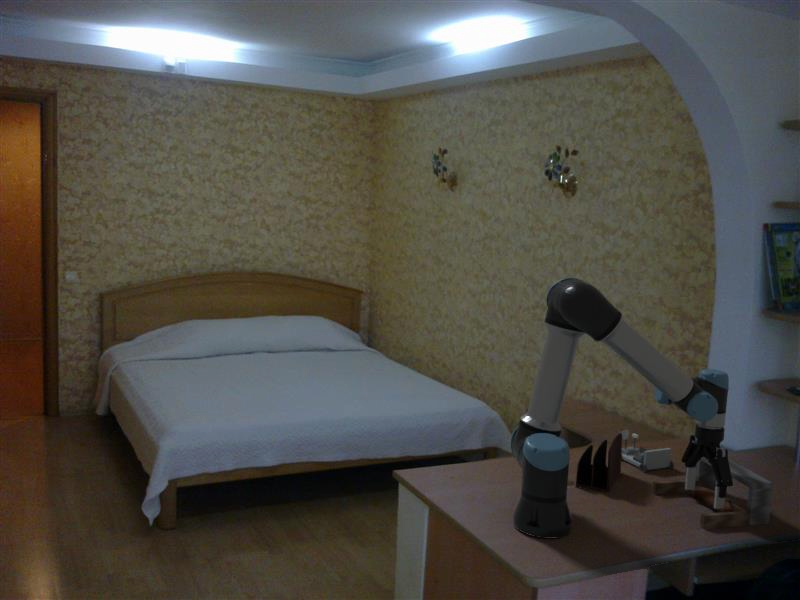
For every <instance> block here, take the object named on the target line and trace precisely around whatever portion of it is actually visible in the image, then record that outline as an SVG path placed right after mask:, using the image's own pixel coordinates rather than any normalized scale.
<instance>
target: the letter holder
mask: <svg viewBox="0 0 800 600" xmlns="http://www.w3.org/2000/svg"><path fill="white" fill-rule="evenodd" d="M618 433H619V432H618ZM618 433H617V434H618ZM617 434H616V435H615V437H614V438H613V440H612V442H611V443H610V446H609V447H608V440H607V439H604V440H603V441H602V442H601V443H600V445H599V446H598V447H597V449H596V450H595V452H594V454H593V450H594V445H592V444H589V446H588V447H586V449H585V450H584V452H583V453H582V454H581V456H580V457H579V460H578V462H577V466H576V467H577V468H576V476H575V487H576V488H579V487H581V488H580V489H584V488H586V489H585V490H589V489H590V491H594V490H595V491H594V492H601V493H606V494H609V493H610V492H611V489H612V488H613V486H614V484H615V482H616V481H617V479H618V477H619V476H620V474H621V472H622V471H621V469H622V468H621V467H622V459H621V454H622V453H621V451H622V448H623V442H622V441H623V439H622V434H621V433H619V434H618V435H617ZM608 448H609V449H608ZM607 451H608V452H607ZM607 453H608V455H607ZM592 457H593V458H592Z"/></svg>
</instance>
